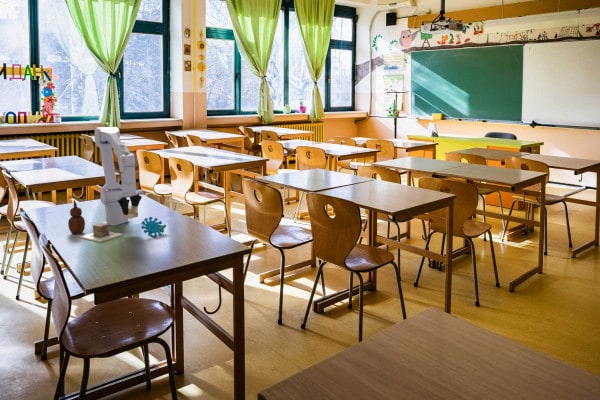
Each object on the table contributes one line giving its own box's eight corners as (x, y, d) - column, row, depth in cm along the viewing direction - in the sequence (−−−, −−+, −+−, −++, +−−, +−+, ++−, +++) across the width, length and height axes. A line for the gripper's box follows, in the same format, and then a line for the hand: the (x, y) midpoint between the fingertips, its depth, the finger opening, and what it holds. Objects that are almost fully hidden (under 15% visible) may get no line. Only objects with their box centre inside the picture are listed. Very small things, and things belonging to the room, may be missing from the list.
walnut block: (102, 233, 237) (101, 222, 237) (109, 234, 235) (108, 224, 234) (93, 235, 234) (92, 225, 233) (100, 237, 231) (100, 226, 231)
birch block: (130, 215, 243) (130, 205, 242) (138, 216, 240) (137, 206, 240) (122, 217, 239) (122, 207, 238) (130, 218, 237) (129, 208, 236)
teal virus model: (144, 235, 231) (140, 215, 235) (140, 243, 234) (135, 223, 239) (169, 235, 237) (164, 216, 242) (164, 242, 241) (160, 223, 246)
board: (102, 231, 243) (102, 229, 242) (122, 235, 237) (122, 233, 237) (79, 237, 232) (79, 236, 232) (99, 242, 227) (99, 240, 226)
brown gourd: (78, 235, 236) (76, 201, 233) (66, 234, 237) (64, 200, 234) (88, 231, 242) (85, 198, 239) (76, 230, 243) (73, 197, 240)
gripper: (122, 186, 228) (124, 218, 231) (147, 180, 241) (149, 211, 244) (110, 184, 232) (112, 215, 235) (136, 179, 244) (137, 209, 247)
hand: (130, 213), depth 239 cm, fingers closed on birch block, 4 cm apart
